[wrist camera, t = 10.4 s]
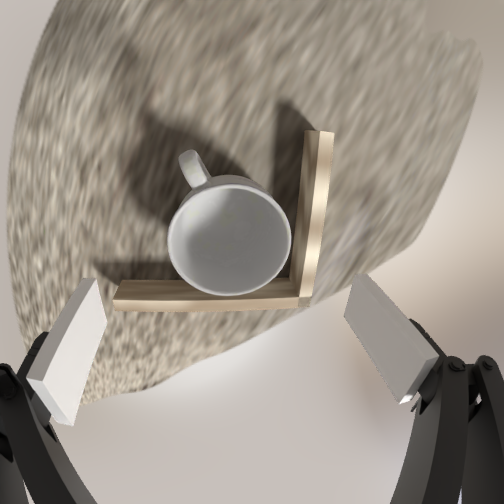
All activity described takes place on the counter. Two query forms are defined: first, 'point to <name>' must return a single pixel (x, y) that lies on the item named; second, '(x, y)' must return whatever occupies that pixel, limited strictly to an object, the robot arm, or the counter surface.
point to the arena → (278, 289)
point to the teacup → (226, 232)
